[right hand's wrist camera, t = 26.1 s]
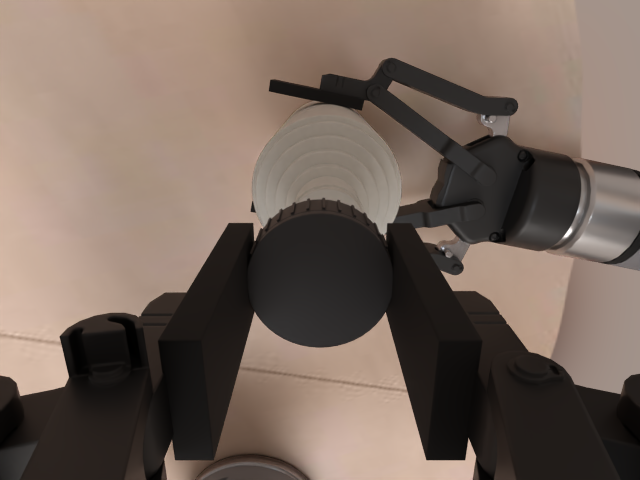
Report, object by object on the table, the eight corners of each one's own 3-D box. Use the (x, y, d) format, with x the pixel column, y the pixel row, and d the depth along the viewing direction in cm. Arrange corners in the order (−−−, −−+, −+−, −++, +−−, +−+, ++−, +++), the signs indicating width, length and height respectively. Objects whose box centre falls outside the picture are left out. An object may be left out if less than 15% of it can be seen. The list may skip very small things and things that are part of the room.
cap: (283, 339, 15) (280, 367, 14) (228, 226, 14) (218, 243, 12) (406, 298, 15) (415, 322, 13) (361, 175, 13) (367, 188, 12)
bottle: (262, 129, 39) (193, 189, 18) (343, 80, 37) (367, 86, 17) (309, 206, 41) (294, 336, 21) (387, 163, 40) (454, 257, 19)
